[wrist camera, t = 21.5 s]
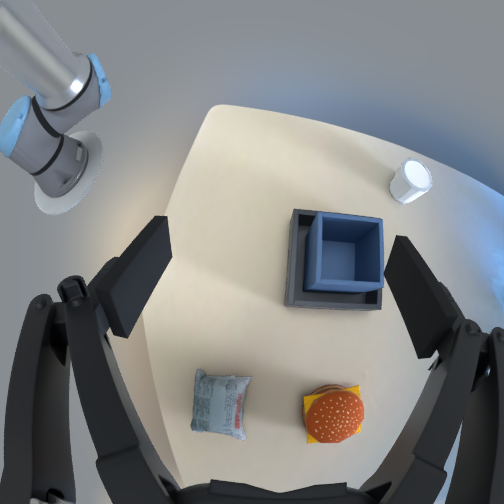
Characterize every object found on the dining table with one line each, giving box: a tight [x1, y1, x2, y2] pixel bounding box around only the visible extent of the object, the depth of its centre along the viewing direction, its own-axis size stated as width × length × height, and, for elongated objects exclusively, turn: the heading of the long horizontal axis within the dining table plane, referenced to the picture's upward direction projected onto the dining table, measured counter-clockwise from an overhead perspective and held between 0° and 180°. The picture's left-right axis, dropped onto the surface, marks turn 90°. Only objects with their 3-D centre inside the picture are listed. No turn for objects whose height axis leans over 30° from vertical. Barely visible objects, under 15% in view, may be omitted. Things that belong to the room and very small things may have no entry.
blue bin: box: [302, 212, 384, 295], centre depth 37 cm, size 9×9×11 cm
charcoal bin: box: [284, 209, 382, 311], centre depth 41 cm, size 14×14×6 cm
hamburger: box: [302, 385, 364, 444], centre depth 35 cm, size 9×10×7 cm
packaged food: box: [190, 368, 252, 441], centre depth 37 cm, size 9×12×5 cm
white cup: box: [390, 158, 433, 204], centre depth 43 cm, size 7×7×7 cm
